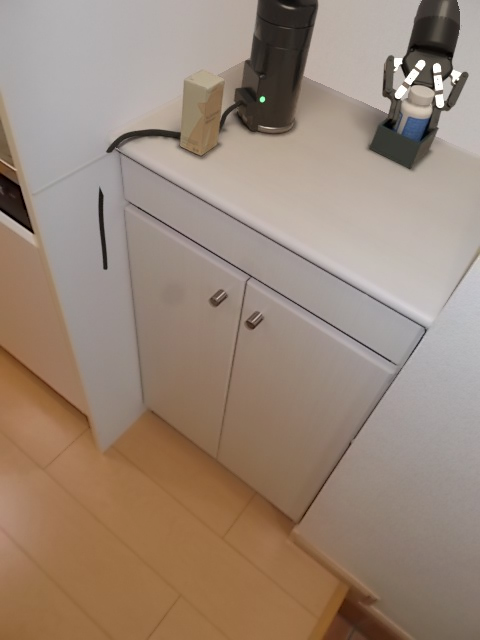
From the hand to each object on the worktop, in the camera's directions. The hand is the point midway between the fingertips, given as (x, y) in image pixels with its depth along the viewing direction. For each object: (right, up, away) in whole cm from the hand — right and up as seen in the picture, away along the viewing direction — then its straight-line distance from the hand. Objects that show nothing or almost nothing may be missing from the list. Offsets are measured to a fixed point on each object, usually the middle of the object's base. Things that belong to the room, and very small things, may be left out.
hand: (410, 127), depth 88 cm
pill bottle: (0, -1, +5) cm, 5 cm away
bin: (0, -2, +5) cm, 5 cm away
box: (-35, -4, -2) cm, 36 cm away
